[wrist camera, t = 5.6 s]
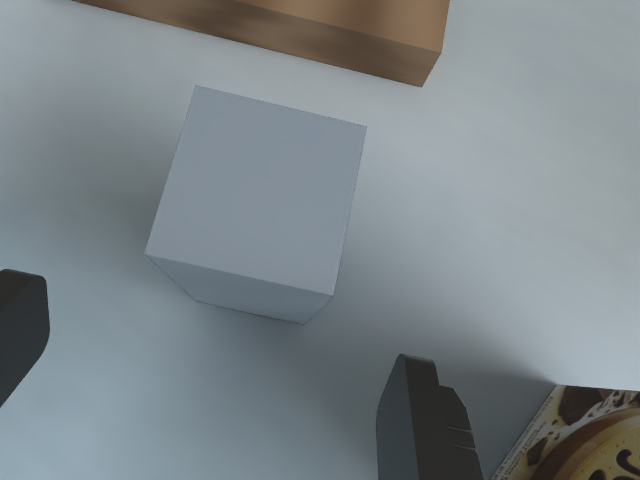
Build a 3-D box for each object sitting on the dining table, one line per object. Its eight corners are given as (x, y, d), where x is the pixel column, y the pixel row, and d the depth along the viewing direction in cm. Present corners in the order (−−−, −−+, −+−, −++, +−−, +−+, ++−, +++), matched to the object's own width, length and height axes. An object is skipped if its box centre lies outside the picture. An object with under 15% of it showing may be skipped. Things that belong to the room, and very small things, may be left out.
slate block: (325, 222, 24) (367, 126, 14) (304, 324, 23) (333, 295, 13) (223, 199, 24) (195, 85, 14) (196, 301, 22) (144, 254, 13)
